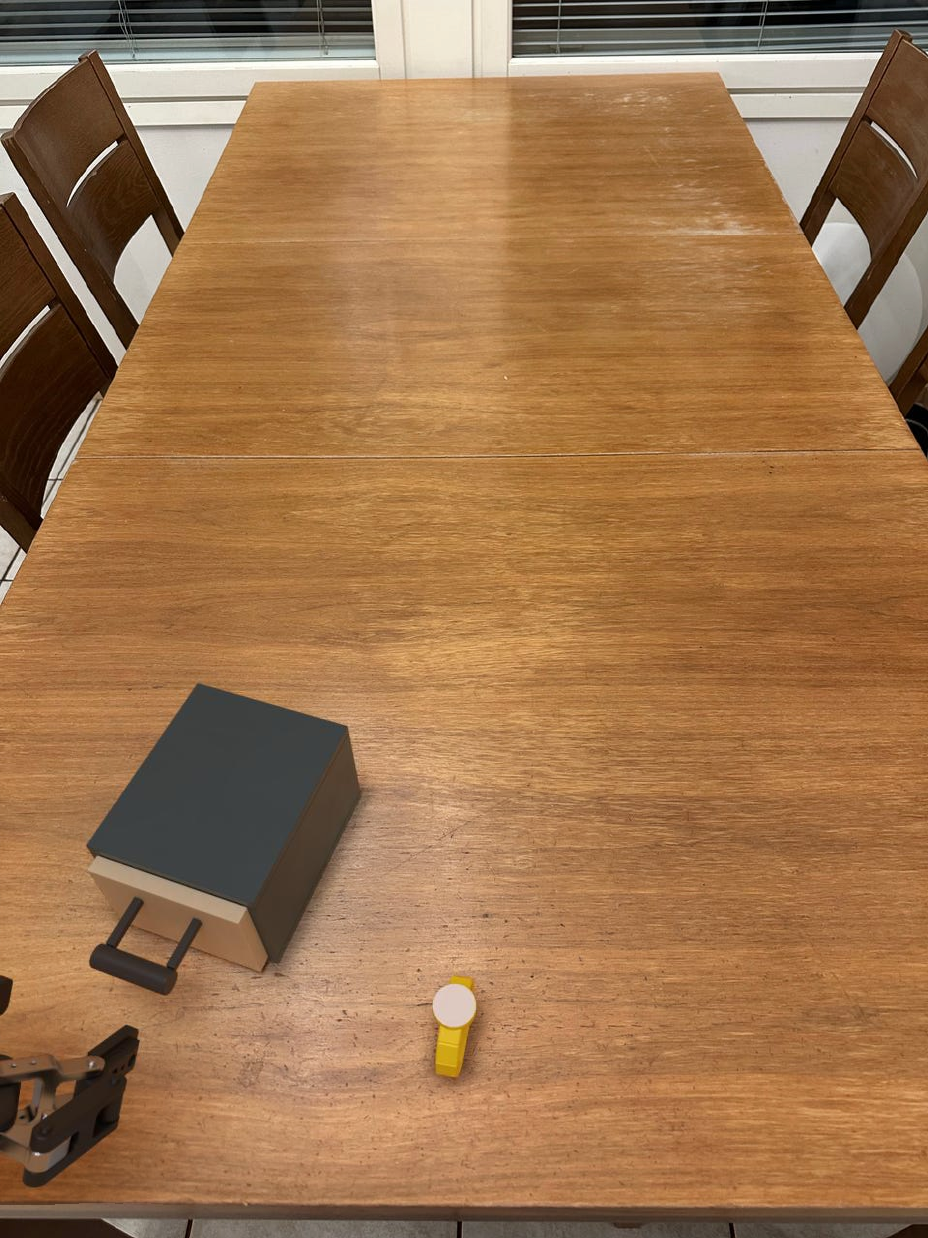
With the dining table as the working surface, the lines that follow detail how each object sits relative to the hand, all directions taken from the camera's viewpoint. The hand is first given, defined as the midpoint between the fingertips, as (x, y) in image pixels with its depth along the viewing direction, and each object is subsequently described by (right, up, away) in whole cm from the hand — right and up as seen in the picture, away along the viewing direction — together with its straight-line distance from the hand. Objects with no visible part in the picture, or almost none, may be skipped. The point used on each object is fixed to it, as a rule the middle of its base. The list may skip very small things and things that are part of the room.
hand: (67, 1016), depth 54 cm
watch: (+22, -6, +9) cm, 25 cm away
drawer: (+5, +3, +16) cm, 16 cm away
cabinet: (+6, +5, +19) cm, 20 cm away
